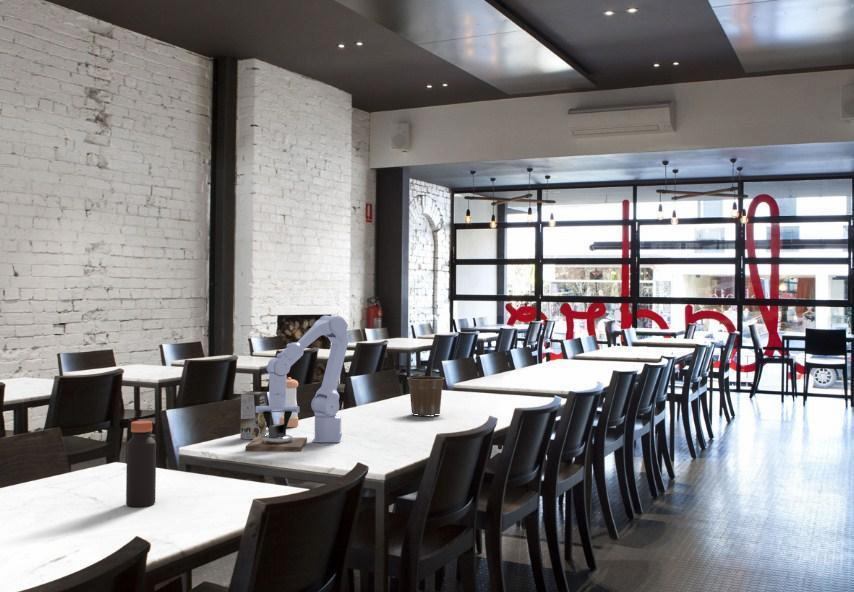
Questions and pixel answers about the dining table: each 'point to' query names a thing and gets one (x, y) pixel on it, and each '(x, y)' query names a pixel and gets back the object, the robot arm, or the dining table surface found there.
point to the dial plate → (276, 445)
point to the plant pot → (425, 394)
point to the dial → (276, 435)
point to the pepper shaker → (290, 402)
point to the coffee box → (252, 415)
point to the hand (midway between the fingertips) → (277, 433)
